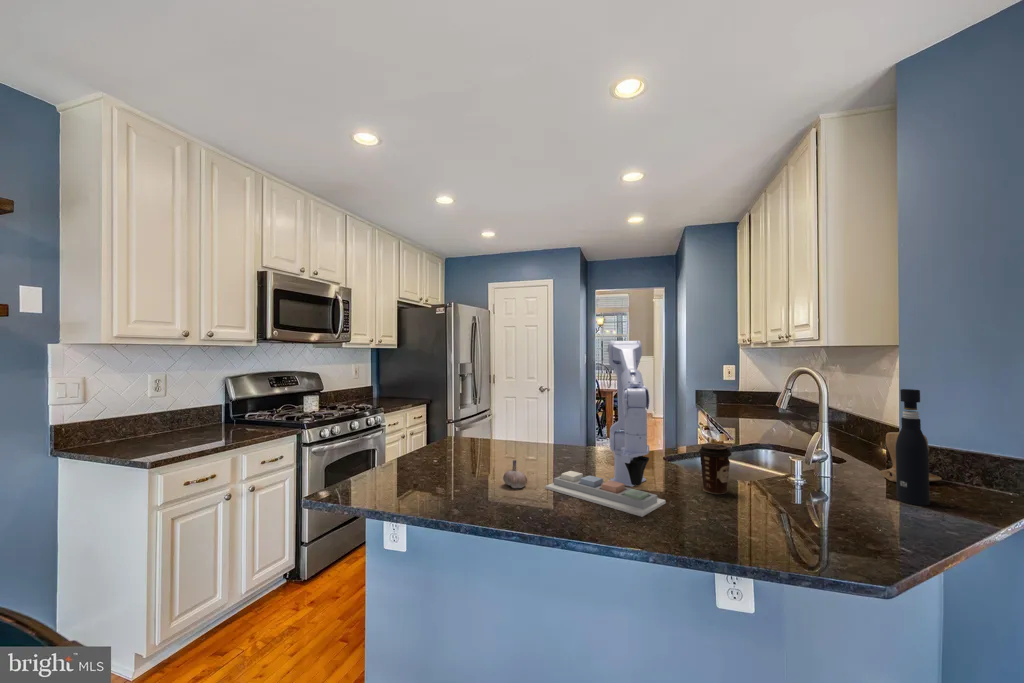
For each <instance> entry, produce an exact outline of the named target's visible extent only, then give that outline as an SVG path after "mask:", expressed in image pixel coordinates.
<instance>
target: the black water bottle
mask: <svg viewBox="0 0 1024 683" xmlns="http://www.w3.org/2000/svg"><path fill="white" fill-rule="evenodd" d="M899 393H900V402H903V404H904V405H903V410H902V415H901V416H902V417H901V419H900V420H901V421H900V422H901V427H900V430H899V431H898V432H899V435H898V437H897V441H896V482H895V483H896V499H897V501H899V502H901V503H905V504H909V505H912V506H913V505H914V506H920V507H921V506H922V507H924V506H926V507H927V506H930V500H931V498H930V481H929V473H930V471H929V470H930V469H929V468H930V466H929V465H930V464H929V462H930V461H929V453H928V447H929V446H928V447H927V443H926V440H925V437H924V433H923V431H922V429H921V427H922V426H921V425H922V424H921V422H922V420H921V418H920V416H919V415H920V413H919V411H918V403H921V390H920V389H913V388H911V389H910V388H908V389H907V388H901V389H900V391H899Z"/></svg>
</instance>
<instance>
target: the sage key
mask: <svg viewBox="0 0 1024 683" xmlns="http://www.w3.org/2000/svg"><path fill="white" fill-rule="evenodd" d="M649 493H650V492H647V491H644V490H639V489H634V488H631V490H629V491H627V492H625V493H624V496H628V497H632V498H635V499H639V500H643V499H645V498H647V497H649Z"/></svg>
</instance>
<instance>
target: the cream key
mask: <svg viewBox="0 0 1024 683" xmlns="http://www.w3.org/2000/svg"><path fill="white" fill-rule="evenodd" d="M560 476H561V479H563V480H567V481H571V482H574V483H575V482H578V481H580V479H581V478H583V477H584V474H583V473H580V472H578V471H573V470H569V471H565V472H563V473H561V474H560Z"/></svg>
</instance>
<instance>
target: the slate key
mask: <svg viewBox="0 0 1024 683" xmlns="http://www.w3.org/2000/svg"><path fill="white" fill-rule="evenodd" d="M583 477H584V478H581V479H580V484H582V485H586V486H590V487H593V488H597V487H599V486H601V484H602V483H603V482H604V478H602V477H598V476H594V475H588V476H583Z"/></svg>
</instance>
